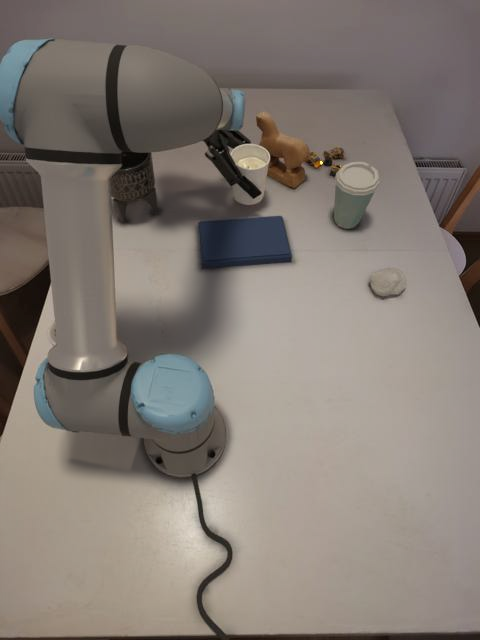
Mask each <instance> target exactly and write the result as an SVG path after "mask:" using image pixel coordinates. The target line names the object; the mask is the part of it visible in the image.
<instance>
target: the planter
mask: <svg viewBox="0 0 480 640" xmlns="http://www.w3.org/2000/svg"><path fill="white" fill-rule="evenodd" d="M152 153H153V152H150V153H138V152H122V167H121V168H120V169H119V170H118V171H117V172H116V173H115V174H114V175H113V176H112V178H111V198H112V201H113V202H112V203H113V204H114V207H115V210H116V214H117V216H118V219H119V222H120V223H122V224H125V223H126V222H127V208H128V206H129V203H134V202H138V201H142V200H144V201H145V202H146V203H147V204H148V205H149V207H150V209H151V212H152V214H153V215H157V214H158V212H159V206H158V199H157V189H156V187H155V186H156V178H155V171H154V163H153V155H152Z"/></svg>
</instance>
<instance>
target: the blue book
mask: <svg viewBox="0 0 480 640" xmlns="http://www.w3.org/2000/svg"><path fill="white" fill-rule="evenodd" d="M197 226H198V236H199V247H200V249H199V250H200V259H201V268H202V270H203V269H216V268H217V269H218V268H229V267H230V268H231V267H241V266H254V265H268V264H280V263H281V264H282V263H291V262H292V259H293V255H292V251H291V247H290V243H289V238H288V234H287V233H288V232H287V230H286V226H285V222H284V217H283V216H282V215H270V216H255V217H242V218H227V219H213V220H200V221H198V222H197Z"/></svg>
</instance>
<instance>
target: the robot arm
mask: <svg viewBox="0 0 480 640" xmlns="http://www.w3.org/2000/svg"><path fill="white" fill-rule="evenodd" d="M245 111H246V95H245V93H244V91H243V90H241V89H240V90H239V89H233V88H220V87H219V85H218V83H217V82H216V80H215V79H214V78H213V76H211V75H210V74H209V72H207V71H206V70H204V69H203V68H200V67H199V66H197V65H195V64H193V63H191V62H189V61H188V60H185V59H182V58H180V57H178V56H175V55H174V54H170V53H168V52H166V51H164V50H163V51H162V50H159V49H155V48H152V47H148V46H143V45H137V44H129V45H128V44H127V45H125V44H116V43H105V42H95V41H83V40H73V39H62V38H54V37H49V38H47V39H23V40H20V41H17V42H15V43H14V44H12V45H11V46H10V47H9V48H8V49H7V51H6V54H4V56H3V57H2V59H1V62H0V122H2V124H4V131H5V132H6V134H7V135H8V136H9V138H10V139H11V140H13V141H14V142H16V143H18V144H19V145H21V146H24V153H25V154H24V155H25V162H26V163H27V164H28V165H30V167H32V168H33V169H34V170H35V171H36V172H37V173H38V175H39V176H40V182H41V193H42V203H43V213H44V214H43V215H44V222H45V223H44V225H45V235H46V244H47V245H46V246H47V254H48V266H49V274H50V275H49V277H50V285H51V294H52V295H51V296H52V305H53V313H54V314H53V317H54V320H55V327H56V337H57V344H56V345H54V346H53V345H52V347H51V348H50V349H49V350H48V352H47V355H46V358H44V360H42V362H41V363H40V364H39V366H38V368H37V371H36V372H35V373H36V374H35V377H34V379H35V381H36V383H35V384H34V385H33V400H34V401H33V402H34V405H35V409H36V412H37V414H38V416H39V418H40V420H41V421H42V422H43V423H44V424H45V425H47V426H48V427H50V428H52V429H57V430H62V431H66V432H71V433H89V434H98V435H108V436H117V437H129V438H130V437H131V438H138V439H143V445H144V450H145V452H146V454H147V456H148V458H149V460H150V461H151V463H152V464H153V466H155V467H156V468H157V469H158V470H159V471H160V472H162V473H164V474H165V475H168V476H171V477H174V478H180V479H181V478H182V479H186V478H191V479H192V485H193V490H194V494H195V499H196V504H197V512H198V513H197V515H198V520H199V523H200V527H201V528H202V530H203V532H204V533H205V534H206V535H207V536H208V537H209V538H210V539H212V540H214V541H216V542H218V543H220V544H222V545H223V546H224V547H225V549H226V551H227V553H226V554H227V555H226V556H227V557H226V558H225V561H224V562H223V564H222V565H220V566H219V567H218V568H217V569H215V570H213V572H211V573H210V574H209V575H207V576H206V577H205V578H204V579H202V580H201V582H200V584H199V586H198V588H197V591H196V605H197V609H198V612H199V614H200V616H201V618H202V620H203V621H204V622H205V623H206V624H207V626H208V627H209V628H210V629H211V630H212V631H213V632H214V633H215V634H216V635H217V636H218V637H219V638H220V639H221V640H231V638H230V637H229V635H227V634H226V632H224V631H223V630H222V629H221V628H220V626H219V625H218V624H217V623H215V621H214V620H213V619H211V617H210V616H209V614H208V613H207V611H206V610H205V607H204V605H203V592H204V589H205V587H206V586H207V585H208V584H209V583H210V582H212V581H213V580H214V579H215V578H217V577H218V576H219V575H221V574H222V573H223V572H224V571H226V569H228V567H229V566H230V564H231V563H232V559H233V548H232V545H231V544H230V542H229V541H228V540H227V539H226V538H224V537H222V536H220V535H218V534H216V533H215V532H213V531H212V530H211V529H210V528H209V526H208V525H207V523H206V520H205V515H204V508H203V507H204V506H203V500H202V495H201V491H200V487H199V482H198V478H197V477H198V476H199V475H201V474H203V473H205V472H206V471H208V470H209V469H211V468H212V467H213V466H214V465H215V464H216V463H217V461H218V460H219V459H220V457H221V455H222V453H223V451H224V449H225V444H226V439H227V432H226V424H225V420H224V417H223V416H222V413H221V412H220V410H219V409H218V408H217V407H216V405H215V394H214V393H215V392H214V389H213V385H212V383H211V380H210V377H209V375H208V373H207V372H206V370H205V369H204V368H203V366H202V365H200V364H199V363H198V362H197V361H196V360H194V359H192V358H190V357H189V356H186V355H184V354H183V355H182V354H177V353H165V354H159V355H157V356H154V357H153V359H150V360H147V361H145V362H137V361H129V354H128V352H129V351H128V347H127V345H126V344H125V343H124V342H122V341H121V340H120V339H118V328H117V307H116V306H117V302H116V301H117V300H116V278H115V277H116V276H115V253H114V251H115V250H114V230H113V229H114V227H113V225H114V224H113V205H112V204H113V202H112V201H113V199H112V196H111V178H112V176H113V175H114V174H115V173H116V172H117V171H118V170H119V169H120V168H121V167H122V152H138V153H150V152H151V153H160V152H165V151H170V150H171V151H172V150H176V149H180V148H184V147H188V146H191V145H195V144H198V143H201V142H204V143H205V145H206V147H207V151H205V152H204V156H205V158H207V159H208V160H209V162H211V163H212V164H213V166H214V167H215V168H216V169H217V171H218V172H219V173H220V174H221V176H222V177H223V178H224V180H225V181H226V182H227V184H228V185H229V186H230V187H232V186H233V185H235V184H238V185H239V186H240V187H241V188H242V189H243V190H244V191H246V192H247V193H248V194H249V195H250V196H251V197H252V198H253V199H254V198H256V197H258V196H259V195H261V194H262V192H261V191H260V190H259V189H258V188H257V187H256V186H255V185H254V184H253V183H252V182H251V181H250V180H248V179H247V178H246V177H245V176H242V174H241V173H240V171H239V169H238V168H237V167H236V165H235V162H234V160H233V159H232V157H231V155H230V154H231V152H230V148H231V149H232V150H233V149H234V148H236V147H237V146H240V145H243V144H252V141H251V140H250V139H249V138H248V137H247V136H246V135H244V134H243V133H242V132H241V130H242V129H243V127H244V122H245V113H246V112H245Z"/></svg>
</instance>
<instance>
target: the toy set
mask: <svg viewBox="0 0 480 640" xmlns="http://www.w3.org/2000/svg"><path fill="white" fill-rule="evenodd" d="M331 151H332V152H331ZM330 152H331V153H330ZM344 154H345V149H344V148H342V147H338V146H335V147H333V148H332V149H330V150H328V151H327V150H324V151H323V154H322V155H323V157H324V160H323V161H322V159H321V158H320V157H319V156H318V154H317V153H316V152H314V151H310V158H309V159H308V160H307V161H305V163H307V164H309V165H310V166H313V167H314V168H315V169H317V168H319V167H320V166H321V165H322V166H323V163H324V164H325V165H326V166H331V165H333V166H332V167H331V169H330V172H329V174H330V175H331V176H336V173H337V172H338V171H339V170H340V169H341V168H342V167H343V165H340V164H338V163H333V158H334V159H343V158H344ZM331 155H332V156H331ZM342 155H343V156H342ZM332 157H333V158H332Z"/></svg>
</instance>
